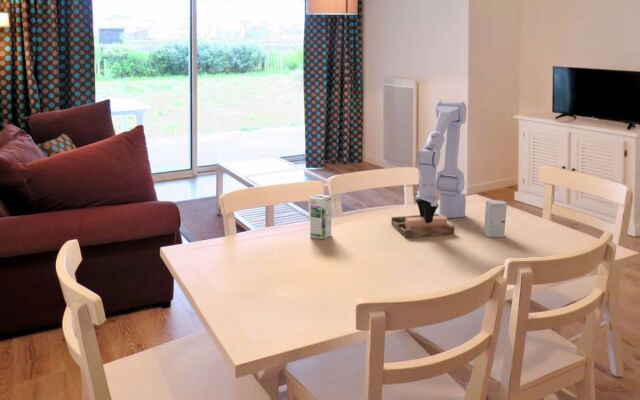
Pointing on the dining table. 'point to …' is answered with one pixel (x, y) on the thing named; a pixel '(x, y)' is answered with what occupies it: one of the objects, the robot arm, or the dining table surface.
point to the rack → (420, 232)
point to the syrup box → (320, 216)
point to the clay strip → (420, 222)
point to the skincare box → (495, 218)
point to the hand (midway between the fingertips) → (426, 220)
